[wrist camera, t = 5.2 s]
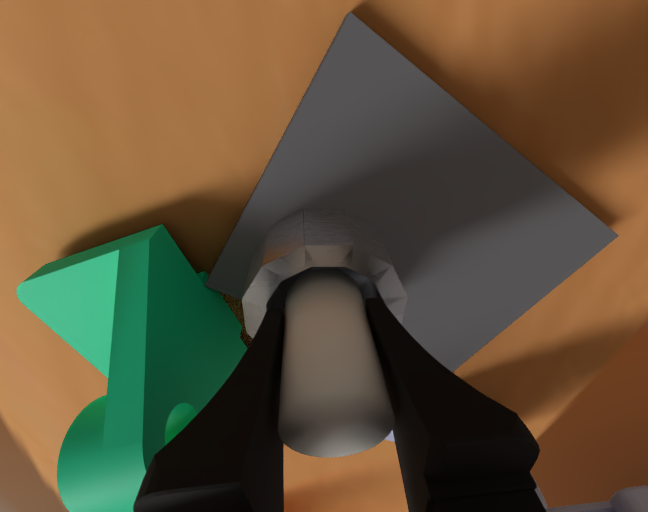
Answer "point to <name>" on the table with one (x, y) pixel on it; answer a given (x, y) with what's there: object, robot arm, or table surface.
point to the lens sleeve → (318, 260)
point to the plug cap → (330, 370)
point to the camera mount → (133, 357)
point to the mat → (418, 198)
